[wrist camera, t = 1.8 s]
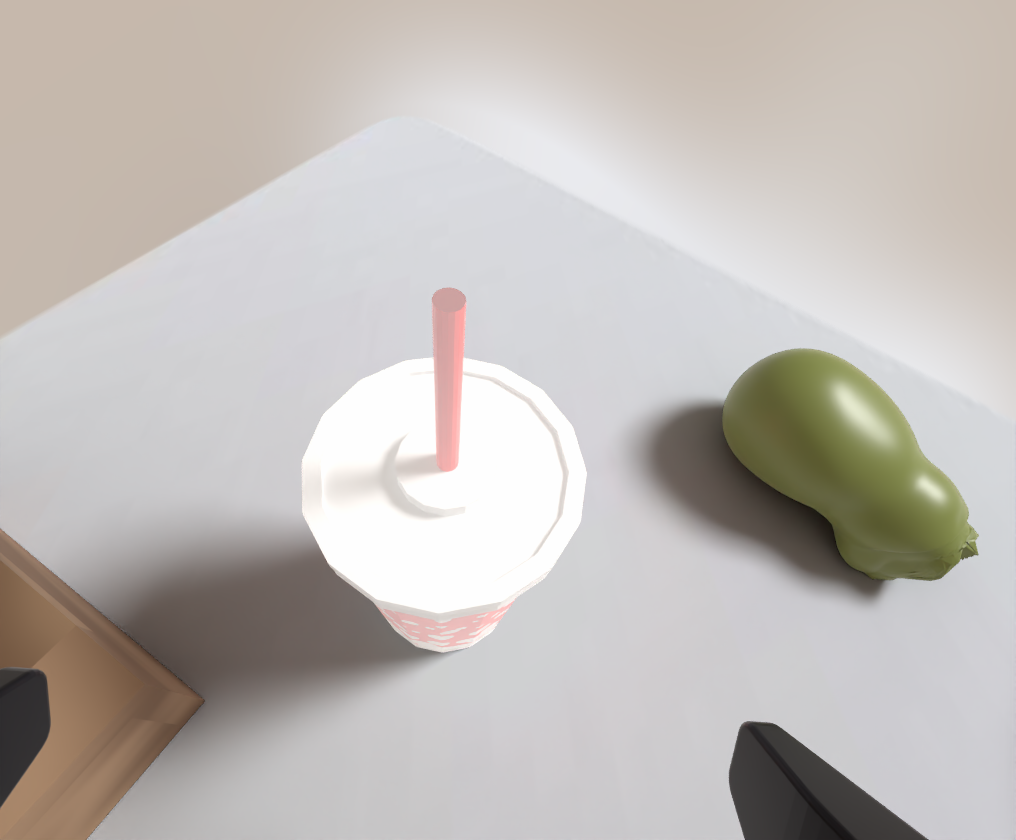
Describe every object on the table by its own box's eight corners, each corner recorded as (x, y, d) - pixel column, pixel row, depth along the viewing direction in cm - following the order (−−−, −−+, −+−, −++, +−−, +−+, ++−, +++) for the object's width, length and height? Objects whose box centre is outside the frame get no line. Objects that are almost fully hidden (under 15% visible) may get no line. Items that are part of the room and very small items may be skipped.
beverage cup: (535, 678, 18) (706, 513, 6) (344, 677, 17) (137, 495, 6) (529, 505, 21) (636, 182, 9) (369, 499, 21) (270, 151, 9)
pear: (827, 299, 21) (1045, 496, 19) (744, 368, 26) (913, 532, 24) (750, 372, 19) (991, 605, 17) (674, 433, 23) (856, 622, 21)
